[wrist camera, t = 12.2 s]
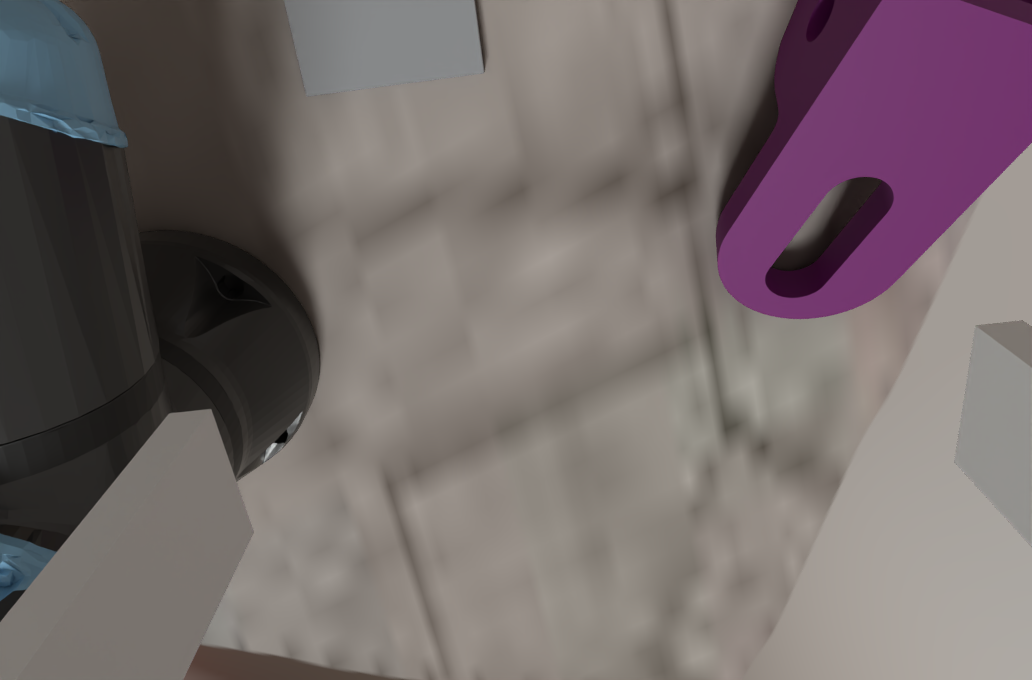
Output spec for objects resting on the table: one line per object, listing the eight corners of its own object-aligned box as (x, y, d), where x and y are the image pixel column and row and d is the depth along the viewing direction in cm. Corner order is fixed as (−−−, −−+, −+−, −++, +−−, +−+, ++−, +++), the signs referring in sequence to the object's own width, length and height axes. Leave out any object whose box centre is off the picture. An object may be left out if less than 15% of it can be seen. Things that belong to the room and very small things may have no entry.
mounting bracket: (822, 235, 48) (1047, -43, 34) (842, 335, 42) (1119, 54, 28) (683, 194, 46) (858, -111, 33) (686, 292, 41) (896, -23, 27)
